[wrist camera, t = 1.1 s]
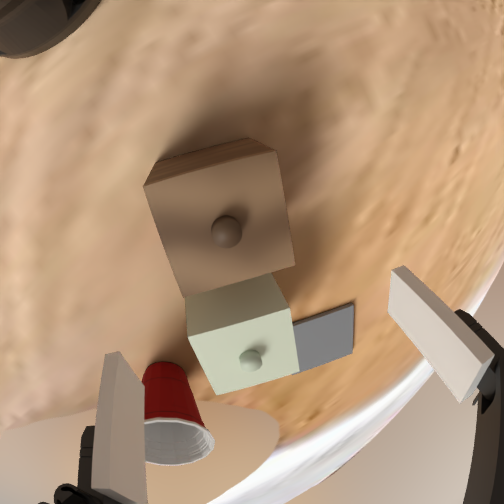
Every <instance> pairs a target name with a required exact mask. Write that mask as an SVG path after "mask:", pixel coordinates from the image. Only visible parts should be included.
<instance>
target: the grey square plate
mask: <svg viewBox="0 0 504 504" xmlns="http://www.w3.org/2000/svg"><path fill="white" fill-rule="evenodd" d="M353 319H354V305H353V304H352V303H350V304H347V305H344V306H341V307H339V308H336V309H333V310H330V311H327V312H324V313H321V314H318V315H316V316H313V317H310V318H307V319H304V320H301V321H297V322H294V323H292V325H293V331H294V337H295V344H296V350H297V357H298V363H299V370H300V371H299V372H296V373H293V374H292V375H294V374H297V373H300V372H303V371H306V370H309V369H312V368H314V367H317V366H320V365H323V364H325V363H328V362H331V361H334V360H336V359H339V358H341V357H344V356H347V355H349V354H352V350H353Z"/></svg>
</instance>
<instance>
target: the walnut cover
mask: <svg viewBox="0 0 504 504" xmlns="http://www.w3.org/2000/svg"><path fill="white" fill-rule="evenodd" d="M143 188H144V191H145V194H146V198H147V201H148V204H149V207H150V210H151V212H152V215H153V218H154V221H155V224H156V227H157V230H158V233H159V235H160V238H161V241H162V244H163V246H164V249H165V252H166V255H167V257H168V260H169V263H170V265H171V268H172V270H173V273H174V276H175V278H176V281H177V283H178V286H179V288H180V291H181V293H182V296H183V297H187V296H191V295H194V294H198V293H201V292H205V291H209V290H212V289H216V288H219V287H223V286H226V285H230V284H233V283H237V282H240V281H244V280H247V279H251V278H254V277H258V276H261V275H264V274H268V273H271V272H275V271H278V270H281V269H285V268H288V267H291V266H295V260H294V253H293V246H292V240H291V233H290V227H289V221H288V215H287V209H286V203H285V197H284V191H283V185H282V179H281V174H280V168H279V163H278V157H277V152H276V150H274V149H272V148H269V147H267V146H265V145H263V144H261V143H259V142H257V141H255V140H253V139H251V138H246V139H241V140H237V141H233V142H229V143H224V144H220V145H216V146H213V147H209V148H205V149H201V150H198V151H194V152H190V153H187V154H183V155H180V156H176V157H173V158H170V159H166V160H163V161H160V162H157V163H155V164H154V166H153V168H152V170H151V172H150V174H149V176H148V178H147V180H146V182H145V184H144V186H143Z"/></svg>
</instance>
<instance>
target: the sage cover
mask: <svg viewBox="0 0 504 504" xmlns="http://www.w3.org/2000/svg"><path fill="white" fill-rule="evenodd" d="M185 307H186V323H187V337H188V339H189V342H190V344H191V346H192V348H193V350H194V352H195V354H196V356H197V358H198V360H199V362H200V364H201V366H202V368H203V370H204V372H205V374H206V376H207V378H208V380H209V382H210V384H211V386H212V388H213V390H214V392H215V393H216V395H220V394H224V393H228V392H232V391H236V390H240V389H243V388H247V387H251V386H254V385H258V384H261V383H264V382H268V381H271V380H274V379H278V378H281V377H284V376H287V375H290V374H293V373H296V372H299V371H300V370H299V363H298V357H297V350H296V344H295V337H294V331H293V325H292V319H291V312H290V307H289V305H288V303H287V302H286V300H285V298H284V296H283V294H282V292H281V290H280V288H279V286H278V284H277V282H276V281H275V279H274V277H273V275H272V273H268V274H264V275H261V276H258V277H254V278H251V279H247V280H244V281H240V282H237V283H233V284H230V285H226V286H223V287H219V288H216V289H212V290H209V291H205V292H201V293H198V294H194V295H191V296H187V297H185Z"/></svg>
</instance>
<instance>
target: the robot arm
mask: <svg viewBox="0 0 504 504" xmlns="http://www.w3.org/2000/svg"><path fill="white" fill-rule="evenodd" d="M99 2H100V0H0V57H6V58H13V59H19V58H26V57H30V56H34V55H37V54H39V53H42V52H44V51H46V50H48V49H50V48H51V47H53V46H55V45H56V44H58V43H59V42H61V41H62V40H64V39H65V38H66V37H68V36H69V35H70V34H71V33H73V32H74V31H75V30H76V29H77V28H78V27H79V26H80V25H81V24H82V23H83V22H84V21H85V20H86V19H87V18H88V16H89V15H90V14H91V13H92V12H93V10H94V9H95V7H96V6H97V5H98V3H99ZM388 313H389V314H390V316H391V317H392V318H393V319H394V320H395V322H396V323H397V324H398V325H399V326H400V328H401V329H402V330H403V331H404V332H405V334H406V335H407V336H408V337H409V339H410V340H411V341H412V342H413V343H414V345H415V346H416V347H417V348H418V350H419V351H420V352H421V353H422V355H423V356H424V357H425V358H426V360H427V361H428V362H429V364H430V365H431V366H432V367H433V369H434V370H435V371H436V373H438V375H439V376H440V378H441V379H442V380H443V382H444V383H445V384H446V386H447V387H448V388H449V390H450V391H451V392H452V394H453V395H454V396H455V398H456V399H457V400H458V402H459V403H461V402H463V401H464V400H465V399H467V398H468V397H470V396H471V395H472V394H473V392H474V391H475V389H476V388H478V389H479V390H480V391H479V393H478V395H477V396H476V398H475V399H474V401H473V405H475V404H476V402H477V401H478V411H477V424H476V433H475V442H474V450H473V456H472V463H471V469H470V474H469V479H468V484H467V489H466V493H465V497H464V501H463V504H504V348H502V347H501V346H500V345H499V343H498V342H497V341H496V340H495V339H494V338H493V337H492V336H491V335H490V334H489V333H488V332H487V331H486V330H485V329H483V328H482V326H481V325H480V324H479V323H477V321H476V320H475V319H474V318H473V317H472V316H471V315H470V314H469V313H467V312H465V311H463V310H461V309H459V310H457V311H455V312H453V311H452V310H451V309H450V308H449V307H448V306H447V305H446V304H445V303H444V302H443V301H442V300H441V299H440V298H439V297H438V296H437V295H436V294H435V293H434V292H433V291H431V290H430V289H429V288H428V287H427V286H426V285H425V284H424V283H423V282H422V281H421V280H420V279H419V278H417V277H416V276H415V275H414V274H413V273H412V272H411V271H410V270H409V269H408V268H406V267H405V266H404V265H403V266H401V267H398V268H395V269H393V270H392V271H391V283H390V294H389V303H388ZM144 394H145V386H144V385H143V384H142V382H141V381H140V380H139V378H138V377H137V376H136V374H135V373H134V371H133V370H132V369H131V367H130V366H129V364H128V363H127V362H126V360H125V359H124V357H123V356H122V354H121V353H120V352H114V353H110V354H105V359H104V365H103V371H102V377H101V384H100V391H99V398H98V406H97V414H96V423H95V426H87V427H86V428H85V430H84V432H83V435H82V437H81V450H80V458H79V470H78V486H77V487H76V486H74V485H71V484H62V485H60V486H59V487H58V488H57V489H56V491H55V494H54V503H55V504H148V500H147V488H146V469H145V441H144ZM38 504H49V503H46V502H40V503H38Z"/></svg>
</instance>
